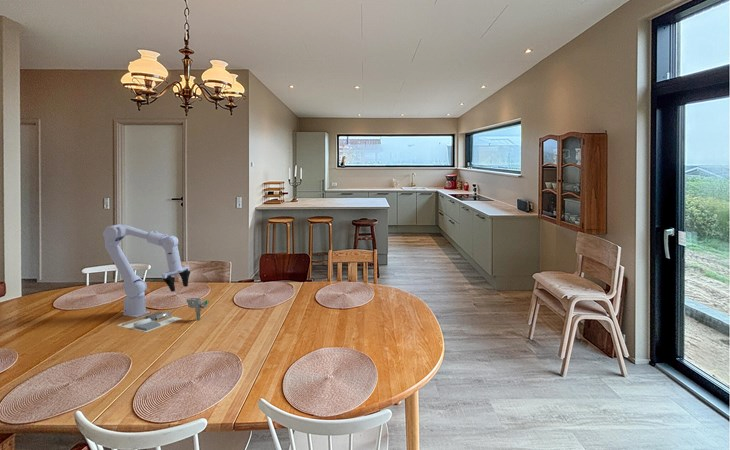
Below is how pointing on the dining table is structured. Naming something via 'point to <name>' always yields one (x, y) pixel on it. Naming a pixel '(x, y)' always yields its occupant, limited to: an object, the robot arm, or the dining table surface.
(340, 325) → the dining table surface
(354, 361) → the dining table surface
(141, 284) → the robot arm
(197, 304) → the mechanical component
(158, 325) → the hinge jig
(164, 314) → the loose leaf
